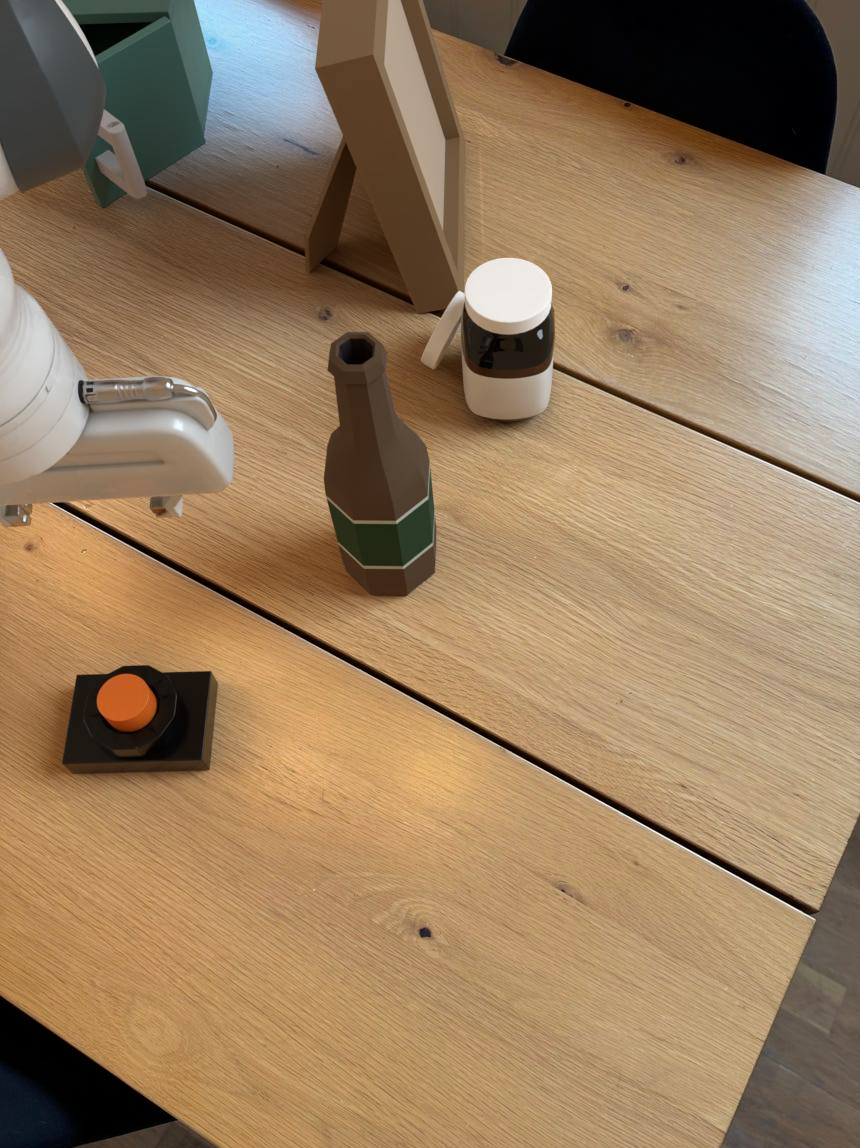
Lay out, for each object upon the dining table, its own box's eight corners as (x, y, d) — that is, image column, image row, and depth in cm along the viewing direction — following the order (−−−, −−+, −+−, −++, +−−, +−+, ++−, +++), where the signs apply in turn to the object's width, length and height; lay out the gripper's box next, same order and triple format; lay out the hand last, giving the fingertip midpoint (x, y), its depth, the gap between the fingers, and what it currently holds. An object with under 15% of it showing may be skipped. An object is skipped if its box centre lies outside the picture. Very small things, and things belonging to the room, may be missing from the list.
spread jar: (553, 434, 90) (560, 337, 79) (420, 436, 90) (410, 340, 79) (548, 327, 95) (554, 224, 85) (423, 329, 95) (414, 226, 85)
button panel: (72, 774, 76) (51, 754, 73) (86, 686, 80) (67, 663, 76) (209, 770, 76) (195, 750, 73) (218, 682, 80) (205, 659, 76)
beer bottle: (421, 506, 86) (395, 286, 65) (454, 582, 83) (438, 377, 62) (331, 536, 85) (274, 322, 64) (361, 614, 82) (312, 416, 61)
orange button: (103, 732, 74) (93, 721, 72) (110, 686, 76) (100, 674, 74) (154, 731, 74) (145, 720, 72) (160, 684, 76) (151, 672, 74)
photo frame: (465, 150, 106) (456, -123, 83) (463, 313, 96) (453, 53, 74) (318, 152, 106) (270, -120, 84) (301, 315, 96) (242, 56, 74)
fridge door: (242, 169, 105) (211, 47, 93) (138, 237, 101) (93, 119, 89) (199, 138, 107) (164, 15, 96) (96, 203, 103) (46, 84, 92)
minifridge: (204, 136, 107) (168, 11, 96) (77, 140, 107) (25, 15, 96) (213, 73, 112) (180, -54, 100) (91, 76, 112) (44, -50, 100)
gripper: (201, 325, 53) (262, 456, 66) (-199, 349, 53) (-59, 475, 67) (196, 435, 51) (261, 548, 64) (-219, 460, 51) (-71, 567, 65)
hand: (95, 511), depth 65 cm, fingers open, 8 cm apart
